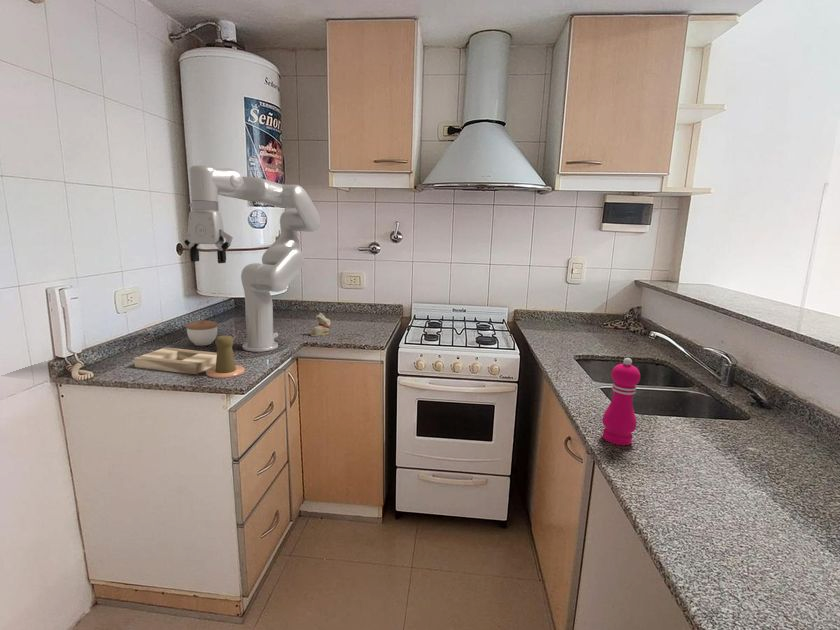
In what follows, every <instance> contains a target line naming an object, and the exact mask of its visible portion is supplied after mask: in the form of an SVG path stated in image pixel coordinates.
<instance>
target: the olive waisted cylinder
mask: <svg viewBox="0 0 840 630" xmlns="http://www.w3.org/2000/svg"><path fill="white" fill-rule="evenodd" d="M214 341H215V342H214V343H215V346H216V347H217V349H216V350H217V351H216V353H217V358H216V365H215V367H216V369H215V372H217V373H231V372H234V371H235V370H236V366H235V365H236V361H235V356H234V351H233V345H234V338H233V336H230V335H226V334H225V335H219V336H216V338H215V340H214Z"/></svg>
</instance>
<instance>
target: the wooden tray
mask: <svg viewBox="0 0 840 630" xmlns="http://www.w3.org/2000/svg"><path fill="white" fill-rule="evenodd" d="M216 358H217V352H212V351H202V350H192V349H183V348H174V347H163V348H160V349H157V350H153V351H150V352H148V353H145V354H141V355H140V356H139V355H138V356H136V357H134V358H133V361H134V367H135V368H140V369H147V370H148V369H149V370H156V371H166V372H173V373H182V374H189V375H190V374H192V375H198V374H200V373H203V372H204V371H207V370H208V369H210V368H213V367H216Z"/></svg>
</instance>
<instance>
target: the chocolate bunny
mask: <svg viewBox="0 0 840 630" xmlns="http://www.w3.org/2000/svg"><path fill="white" fill-rule="evenodd" d="M315 319H316V320H317V322H318V325H315V326H314V327H313V328H312V330H311V332H310V333H309V336H310V335H325V334H329V331H330V329H331V328H330V327H331V325H332V324H331V319H329V318H326V316H325V315H324V314H323V313H321V312H319V313H318V314H317V315H315Z"/></svg>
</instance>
